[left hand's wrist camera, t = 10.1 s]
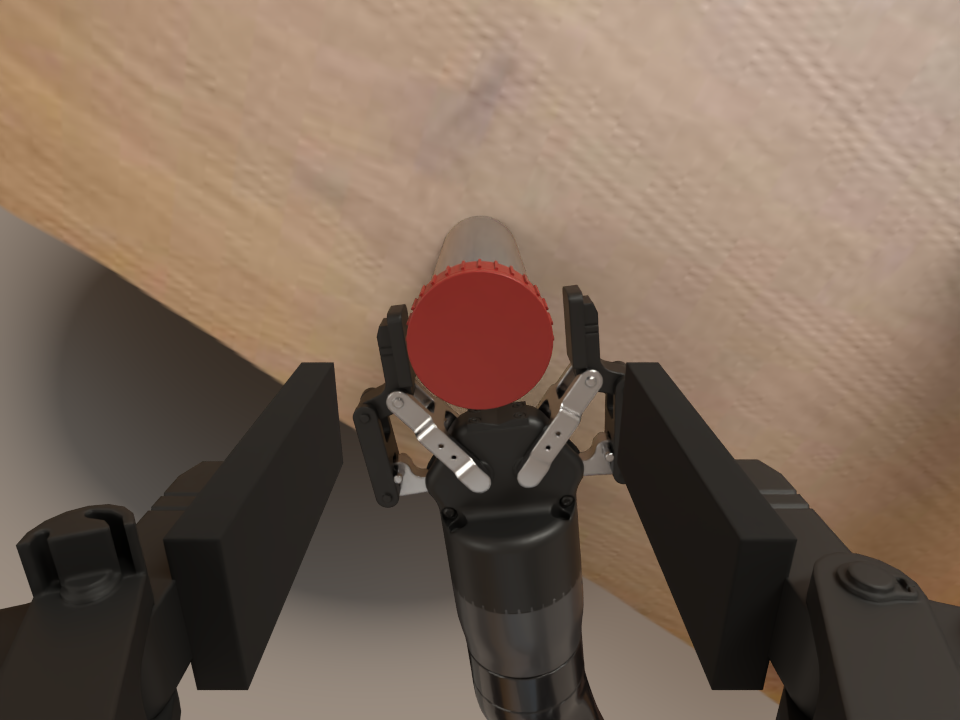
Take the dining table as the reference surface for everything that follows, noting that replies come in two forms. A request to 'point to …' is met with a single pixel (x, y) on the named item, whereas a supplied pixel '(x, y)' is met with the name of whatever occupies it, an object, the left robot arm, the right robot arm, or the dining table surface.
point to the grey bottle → (479, 245)
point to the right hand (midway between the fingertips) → (483, 298)
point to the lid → (479, 335)
